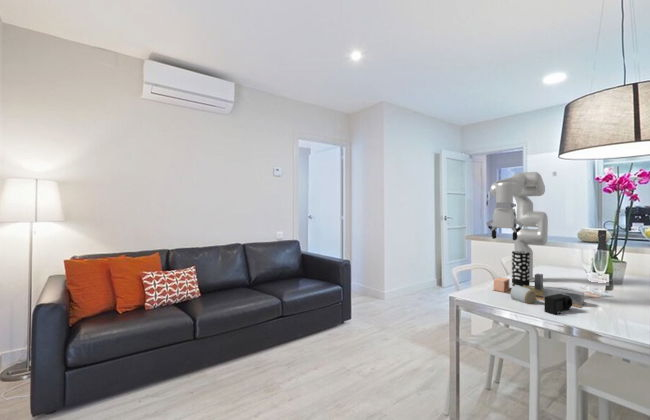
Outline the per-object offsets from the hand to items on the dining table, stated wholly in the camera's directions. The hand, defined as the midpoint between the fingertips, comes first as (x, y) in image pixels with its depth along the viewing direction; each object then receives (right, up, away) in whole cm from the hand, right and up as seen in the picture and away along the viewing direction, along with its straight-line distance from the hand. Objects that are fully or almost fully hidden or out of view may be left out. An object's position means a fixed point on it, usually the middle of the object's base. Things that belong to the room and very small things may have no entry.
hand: (504, 239), depth 157 cm
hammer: (+17, -27, -9) cm, 33 cm away
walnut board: (+13, -29, -5) cm, 32 cm away
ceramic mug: (+3, -30, -11) cm, 32 cm away
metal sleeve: (+20, -28, -13) cm, 37 cm away
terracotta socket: (+3, -28, +7) cm, 29 cm away
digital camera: (+9, -30, -25) cm, 40 cm away
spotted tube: (+17, -29, +14) cm, 36 cm away
